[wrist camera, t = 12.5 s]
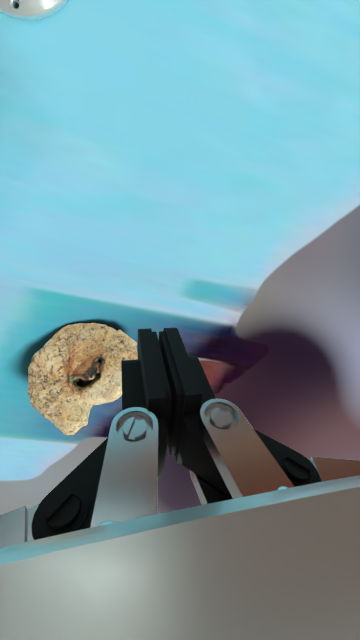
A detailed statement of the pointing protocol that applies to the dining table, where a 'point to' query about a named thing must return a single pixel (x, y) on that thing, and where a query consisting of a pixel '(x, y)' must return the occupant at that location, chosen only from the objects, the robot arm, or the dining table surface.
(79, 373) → the beige piece
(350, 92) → the dining table surface
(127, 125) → the dining table surface
